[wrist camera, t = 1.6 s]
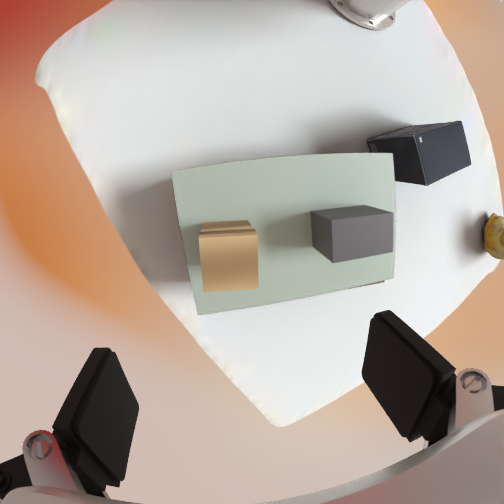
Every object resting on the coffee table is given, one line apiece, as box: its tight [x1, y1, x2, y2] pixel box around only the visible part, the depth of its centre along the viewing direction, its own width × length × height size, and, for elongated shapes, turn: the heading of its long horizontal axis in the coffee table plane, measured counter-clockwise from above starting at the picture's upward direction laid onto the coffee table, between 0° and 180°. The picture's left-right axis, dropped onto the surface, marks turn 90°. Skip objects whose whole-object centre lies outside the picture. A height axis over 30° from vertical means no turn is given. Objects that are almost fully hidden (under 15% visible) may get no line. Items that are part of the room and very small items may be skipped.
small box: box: [367, 121, 471, 186], centre depth 29 cm, size 11×6×10 cm, turn 113°
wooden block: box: [199, 220, 259, 292], centre depth 22 cm, size 4×4×6 cm
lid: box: [171, 153, 396, 315], centre depth 24 cm, size 14×22×6 cm, turn 97°
